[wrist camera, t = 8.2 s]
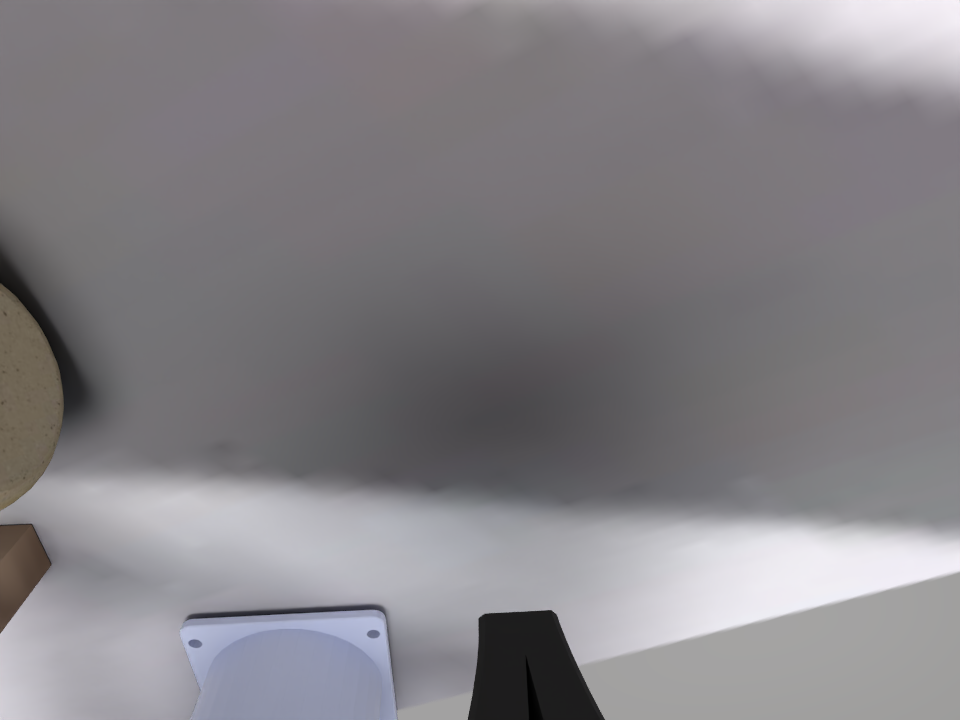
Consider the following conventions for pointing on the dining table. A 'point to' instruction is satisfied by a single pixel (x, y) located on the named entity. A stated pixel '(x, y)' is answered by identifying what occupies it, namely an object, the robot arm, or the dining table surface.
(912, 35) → the dining table surface
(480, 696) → the robot arm
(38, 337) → the ceramic mug
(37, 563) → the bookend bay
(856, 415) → the dining table surface
